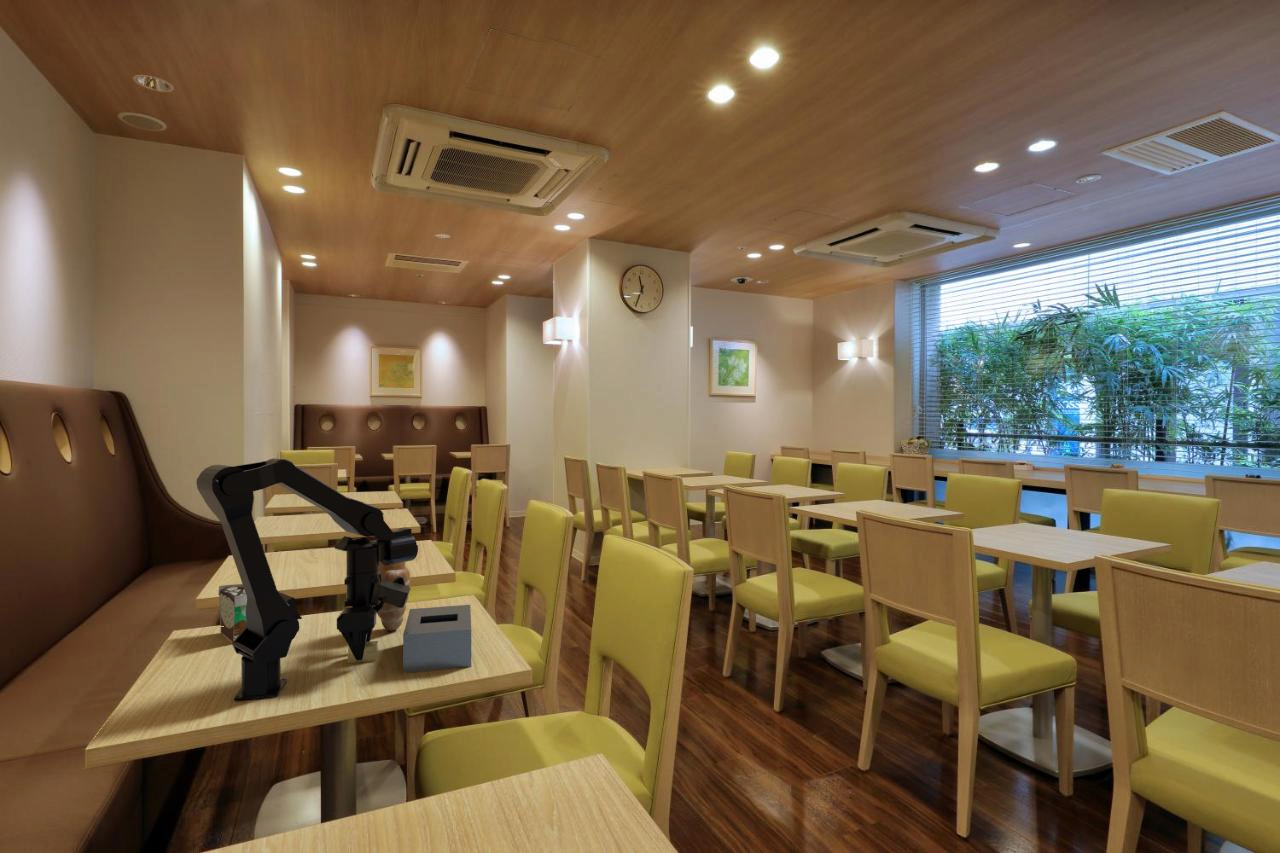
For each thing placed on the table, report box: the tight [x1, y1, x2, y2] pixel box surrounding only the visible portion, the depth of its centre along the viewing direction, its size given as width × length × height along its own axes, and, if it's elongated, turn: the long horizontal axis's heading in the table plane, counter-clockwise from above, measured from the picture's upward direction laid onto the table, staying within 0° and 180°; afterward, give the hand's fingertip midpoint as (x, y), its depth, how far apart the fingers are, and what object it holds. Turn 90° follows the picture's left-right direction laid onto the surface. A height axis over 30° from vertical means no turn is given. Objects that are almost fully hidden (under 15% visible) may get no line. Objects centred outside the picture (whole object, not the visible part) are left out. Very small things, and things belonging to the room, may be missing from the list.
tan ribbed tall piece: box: [376, 561, 411, 632], centre depth 139 cm, size 9×8×18 cm
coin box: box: [402, 604, 472, 674], centre depth 126 cm, size 16×12×7 cm
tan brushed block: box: [347, 640, 379, 665], centre depth 123 cm, size 3×5×3 cm, turn 107°
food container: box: [218, 583, 247, 643], centre depth 136 cm, size 12×6×10 cm, turn 47°
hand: (363, 650), depth 123 cm, fingers open, 9 cm apart
